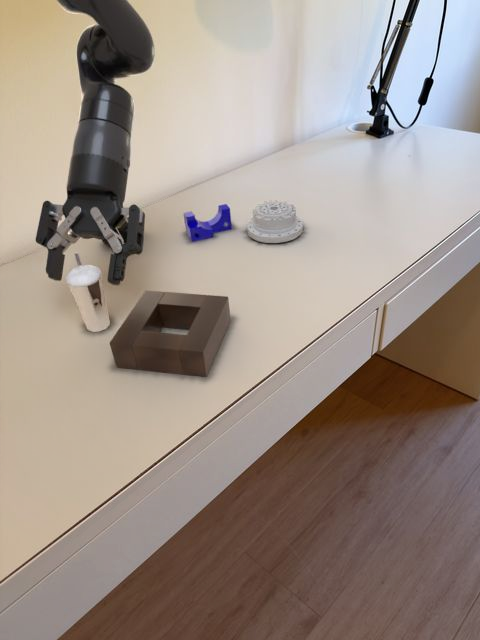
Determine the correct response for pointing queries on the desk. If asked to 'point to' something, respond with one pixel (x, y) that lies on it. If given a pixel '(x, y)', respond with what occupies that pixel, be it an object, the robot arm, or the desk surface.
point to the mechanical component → (274, 222)
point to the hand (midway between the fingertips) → (83, 281)
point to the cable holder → (207, 224)
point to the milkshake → (89, 295)
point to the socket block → (166, 348)
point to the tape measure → (120, 231)
